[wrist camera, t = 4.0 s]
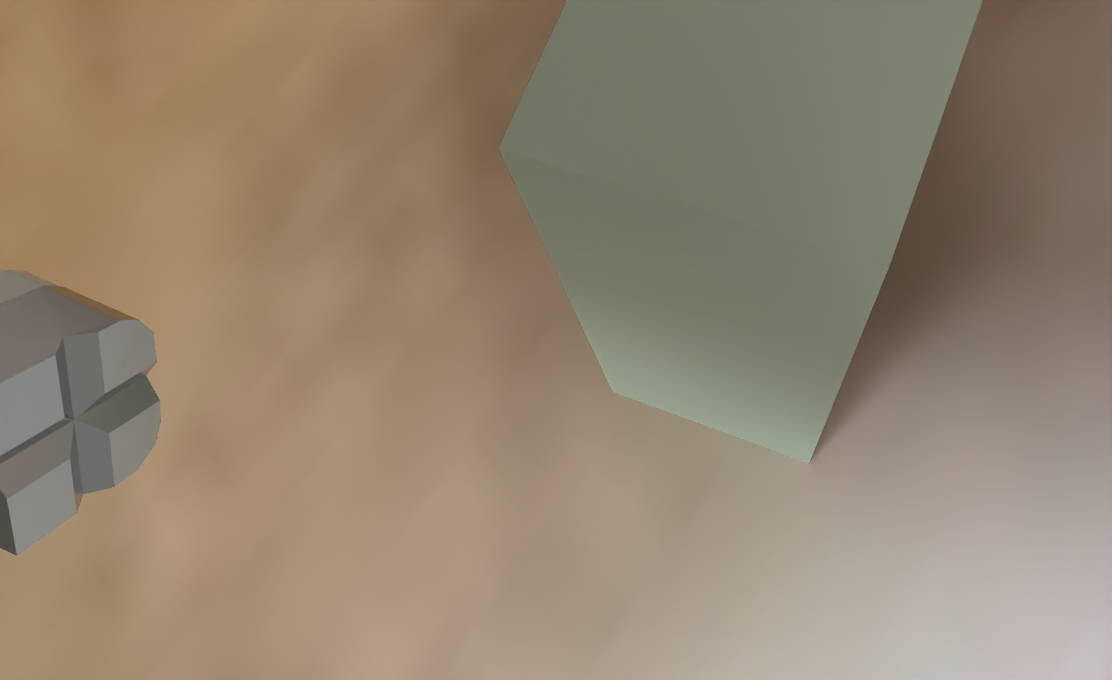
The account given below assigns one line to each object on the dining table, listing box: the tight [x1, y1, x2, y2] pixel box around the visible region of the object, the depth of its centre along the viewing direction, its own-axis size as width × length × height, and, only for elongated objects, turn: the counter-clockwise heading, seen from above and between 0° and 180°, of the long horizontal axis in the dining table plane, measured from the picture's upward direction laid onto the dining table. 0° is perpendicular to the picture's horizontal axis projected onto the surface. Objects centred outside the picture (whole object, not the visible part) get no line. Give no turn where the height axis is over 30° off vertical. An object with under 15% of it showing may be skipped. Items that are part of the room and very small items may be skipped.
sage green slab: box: [498, 0, 983, 463], centre depth 15 cm, size 4×10×10 cm, turn 157°
